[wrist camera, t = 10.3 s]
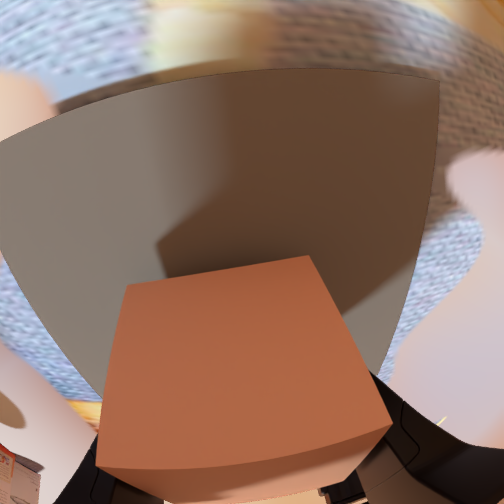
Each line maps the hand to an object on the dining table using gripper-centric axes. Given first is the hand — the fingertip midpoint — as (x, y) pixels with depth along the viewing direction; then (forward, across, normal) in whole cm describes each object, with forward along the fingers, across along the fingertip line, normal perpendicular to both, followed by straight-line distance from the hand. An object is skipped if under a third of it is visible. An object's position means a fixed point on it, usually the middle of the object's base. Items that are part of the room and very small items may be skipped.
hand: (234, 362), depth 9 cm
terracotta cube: (+1, 0, 0) cm, 1 cm away
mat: (+3, 0, 0) cm, 3 cm away
